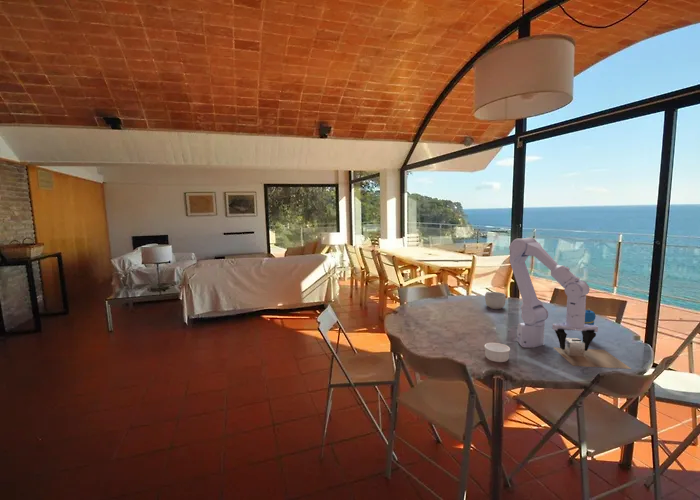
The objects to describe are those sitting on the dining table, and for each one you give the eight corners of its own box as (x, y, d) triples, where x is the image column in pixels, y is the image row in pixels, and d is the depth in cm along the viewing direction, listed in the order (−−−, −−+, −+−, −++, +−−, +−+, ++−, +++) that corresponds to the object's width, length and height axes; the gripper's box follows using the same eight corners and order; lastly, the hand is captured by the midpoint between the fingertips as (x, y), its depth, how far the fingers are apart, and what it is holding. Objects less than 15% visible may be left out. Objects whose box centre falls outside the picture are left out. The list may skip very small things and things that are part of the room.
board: (572, 369, 116) (573, 354, 116) (552, 351, 132) (553, 337, 131) (631, 373, 113) (632, 357, 113) (604, 353, 129) (605, 339, 128)
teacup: (508, 310, 187) (509, 296, 186) (489, 310, 187) (489, 296, 186) (498, 303, 201) (498, 290, 200) (479, 303, 201) (480, 290, 200)
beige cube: (569, 355, 124) (570, 341, 123) (563, 350, 129) (563, 336, 128) (584, 356, 123) (585, 342, 123) (577, 351, 128) (578, 337, 127)
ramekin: (481, 359, 126) (481, 348, 125) (486, 351, 133) (487, 340, 133) (507, 365, 121) (508, 353, 120) (511, 356, 128) (511, 345, 128)
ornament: (579, 339, 144) (581, 304, 142) (594, 342, 140) (596, 306, 139) (577, 343, 140) (580, 307, 138) (593, 345, 136) (595, 309, 135)
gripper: (559, 316, 122) (557, 352, 123) (603, 317, 119) (601, 354, 121) (550, 310, 129) (549, 345, 130) (592, 311, 126) (590, 346, 128)
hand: (573, 349), depth 126 cm, fingers open, 7 cm apart
